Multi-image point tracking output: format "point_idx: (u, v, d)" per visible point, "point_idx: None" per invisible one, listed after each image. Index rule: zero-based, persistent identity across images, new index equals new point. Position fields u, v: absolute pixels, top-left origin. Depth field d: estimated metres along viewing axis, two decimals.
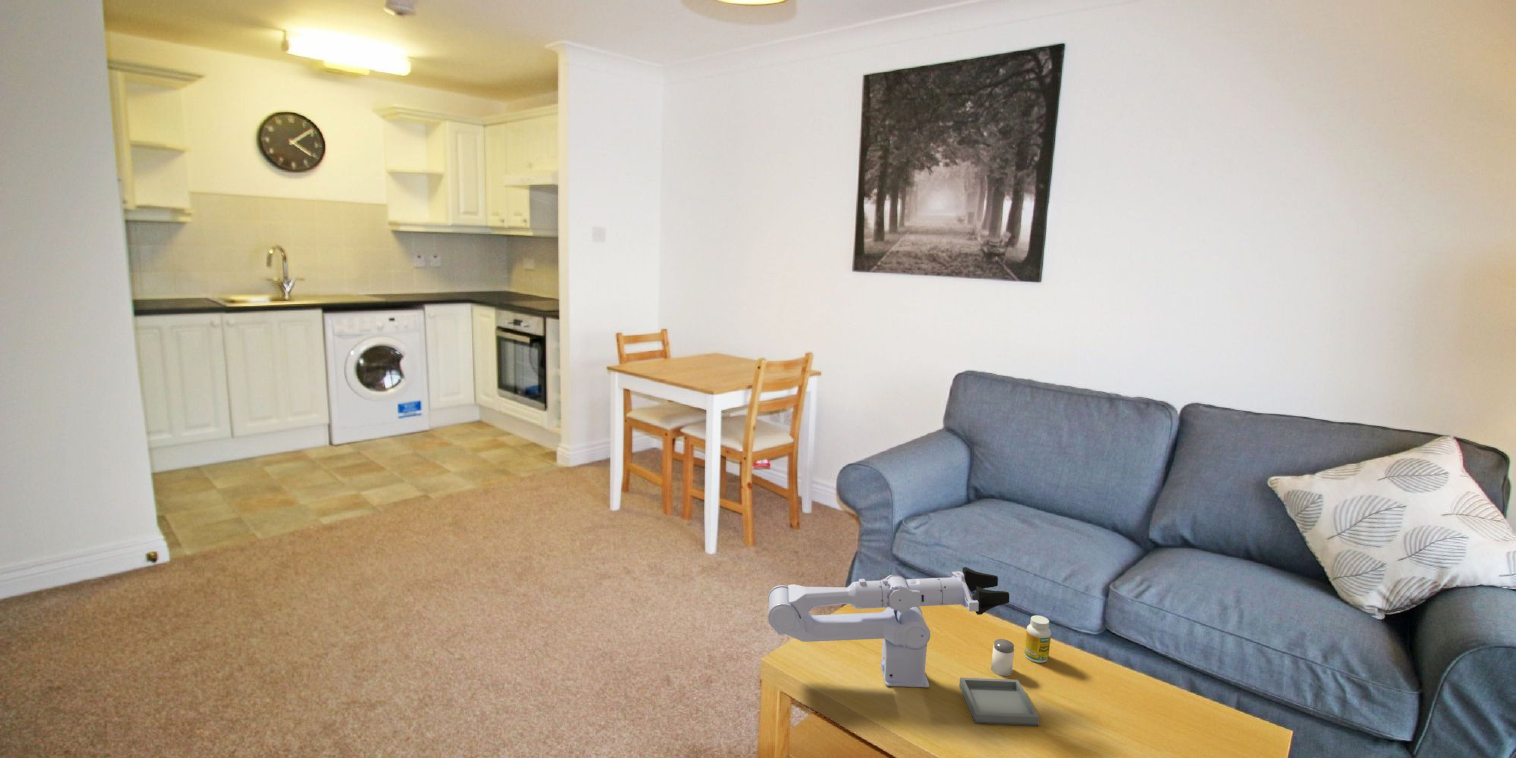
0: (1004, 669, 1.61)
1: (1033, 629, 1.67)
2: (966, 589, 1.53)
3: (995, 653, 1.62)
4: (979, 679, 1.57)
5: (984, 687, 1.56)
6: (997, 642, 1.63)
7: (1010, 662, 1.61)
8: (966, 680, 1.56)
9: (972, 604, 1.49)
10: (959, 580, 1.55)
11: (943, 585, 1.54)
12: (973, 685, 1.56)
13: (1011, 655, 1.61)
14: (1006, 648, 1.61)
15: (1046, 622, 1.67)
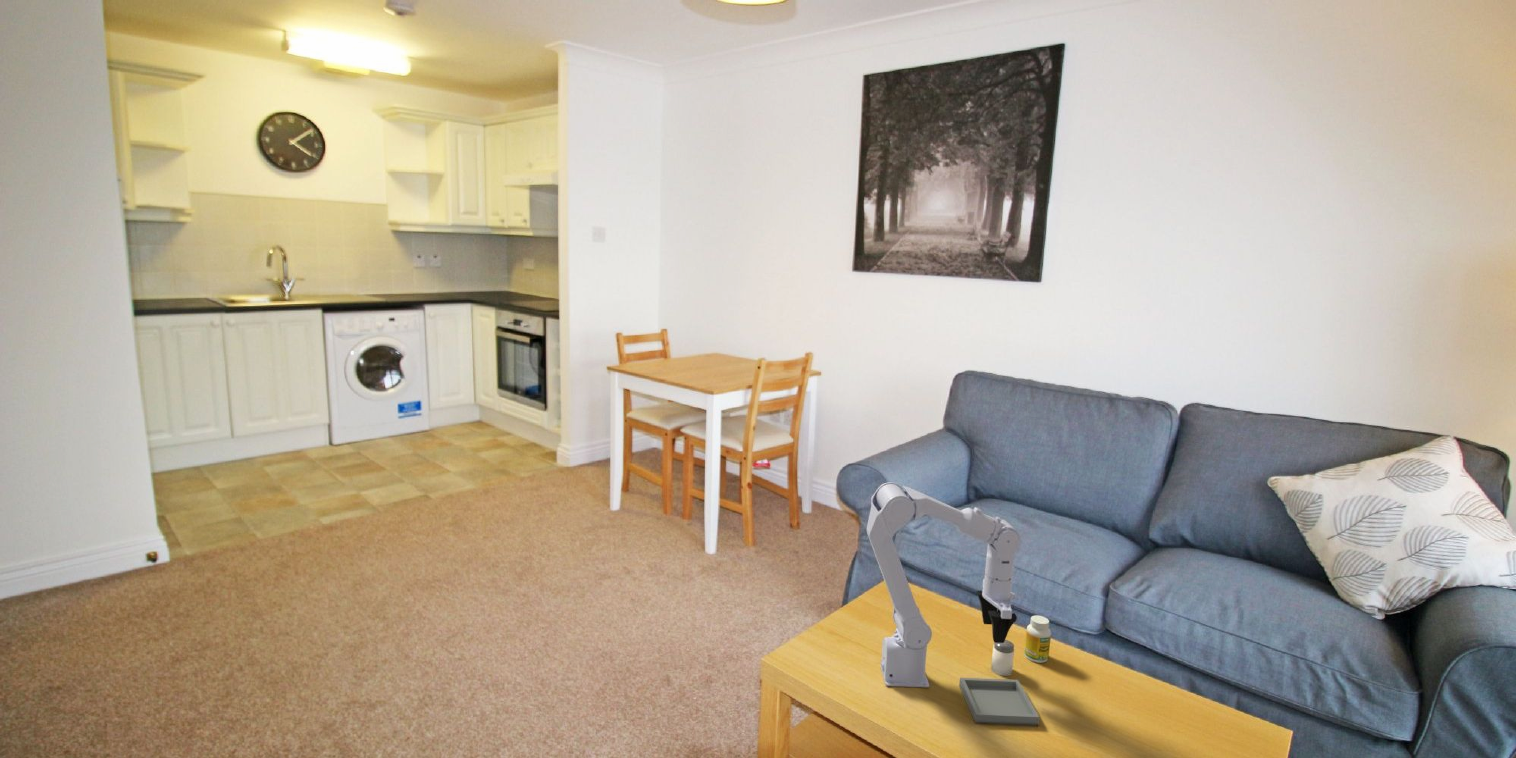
0: (1004, 669, 1.61)
1: (1033, 629, 1.67)
2: None
3: (995, 653, 1.62)
4: (979, 679, 1.57)
5: (984, 687, 1.56)
6: None
7: (1010, 662, 1.61)
8: (966, 680, 1.56)
9: (1010, 613, 1.51)
10: (1010, 594, 1.57)
11: (1011, 580, 1.55)
12: (973, 685, 1.56)
13: (1011, 655, 1.61)
14: (1006, 648, 1.61)
15: (1046, 622, 1.67)
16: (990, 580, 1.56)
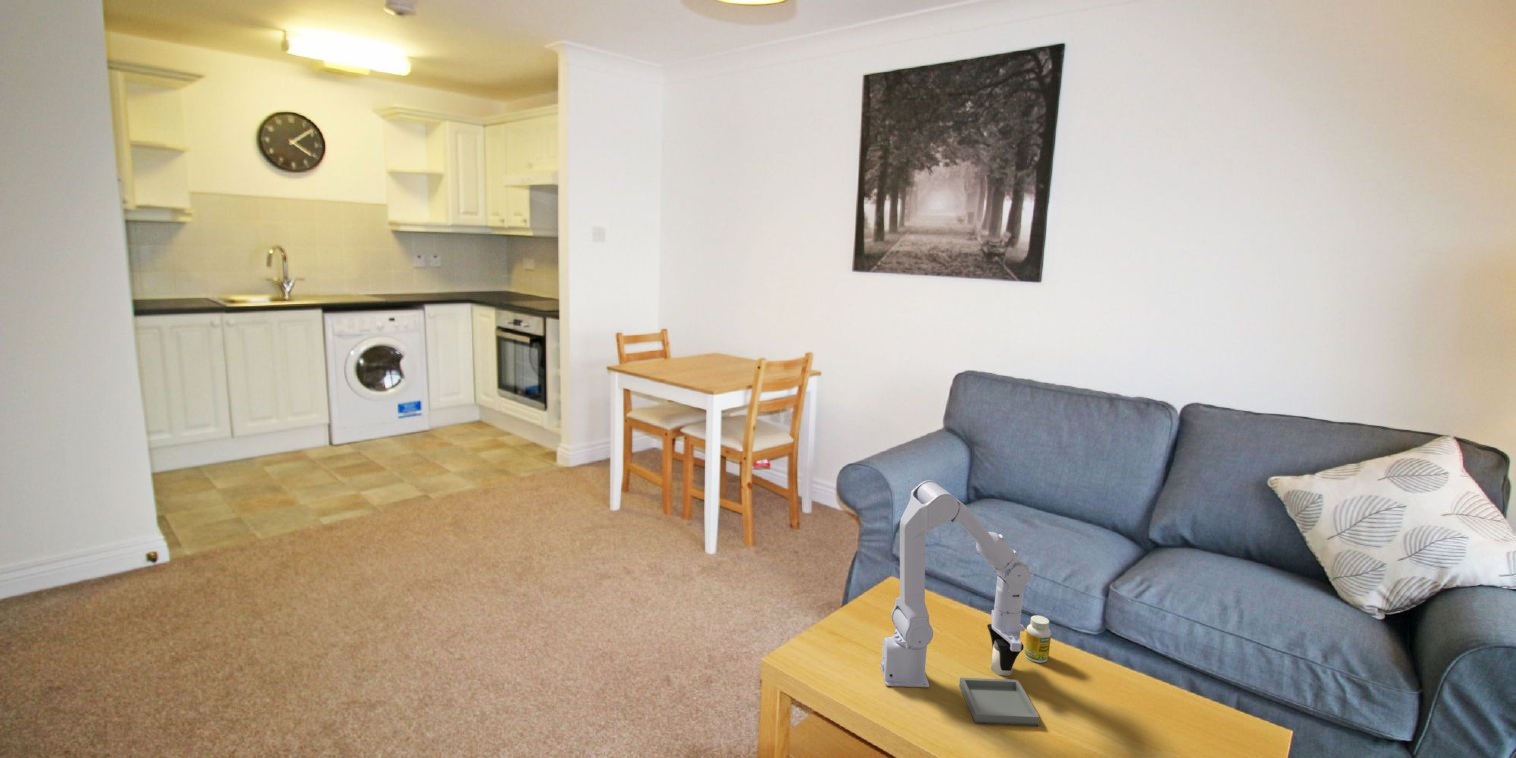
0: None
1: (1033, 629, 1.67)
2: (1019, 636, 1.59)
3: (995, 653, 1.62)
4: (979, 679, 1.57)
5: (984, 687, 1.56)
6: None
7: None
8: (966, 680, 1.56)
9: (1019, 646, 1.55)
10: None
11: (1020, 613, 1.59)
12: (973, 685, 1.56)
13: None
14: None
15: (1046, 622, 1.67)
16: (1000, 613, 1.60)
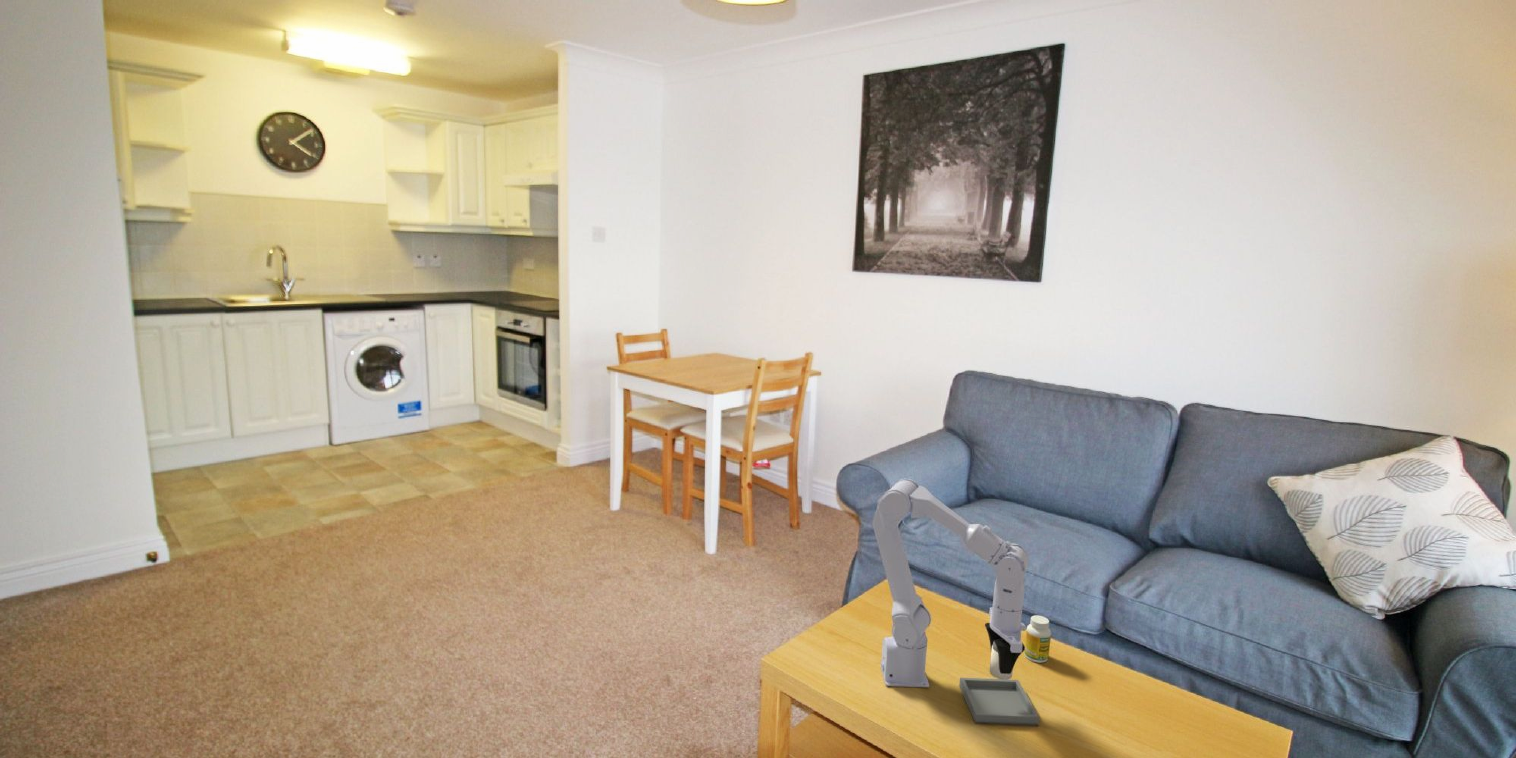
0: None
1: (1033, 629, 1.67)
2: (1020, 635, 1.45)
3: (994, 655, 1.49)
4: (979, 679, 1.57)
5: (984, 687, 1.56)
6: None
7: None
8: (966, 680, 1.56)
9: (1020, 647, 1.41)
10: (1020, 625, 1.47)
11: (1021, 611, 1.46)
12: (973, 685, 1.56)
13: None
14: None
15: (1046, 622, 1.67)
16: (999, 610, 1.46)
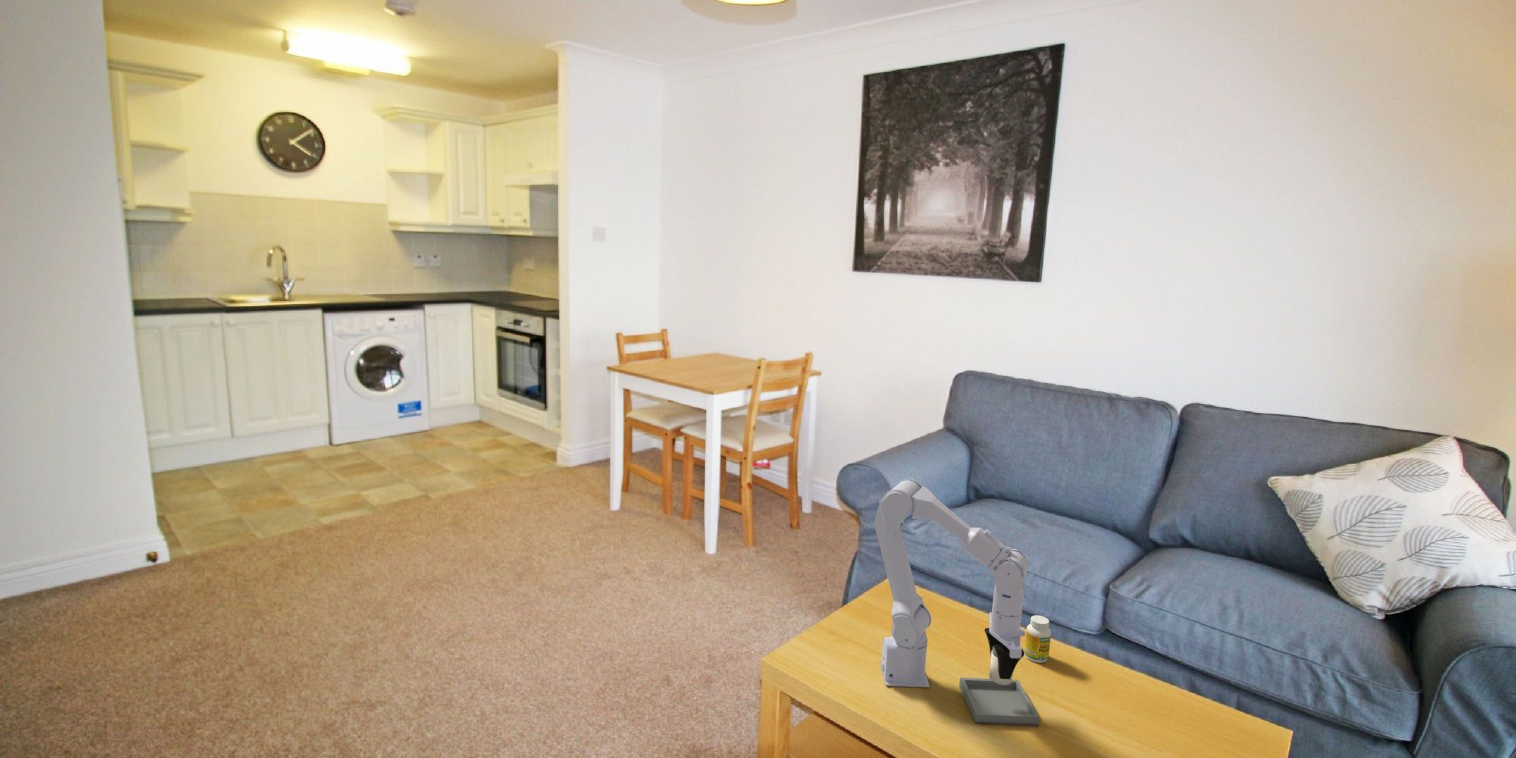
0: None
1: (1033, 629, 1.67)
2: None
3: (993, 660, 1.48)
4: (979, 679, 1.57)
5: (984, 687, 1.56)
6: None
7: None
8: (966, 680, 1.56)
9: (1019, 652, 1.41)
10: (1019, 630, 1.47)
11: (1020, 616, 1.46)
12: (973, 685, 1.56)
13: None
14: None
15: (1046, 622, 1.67)
16: (998, 616, 1.46)
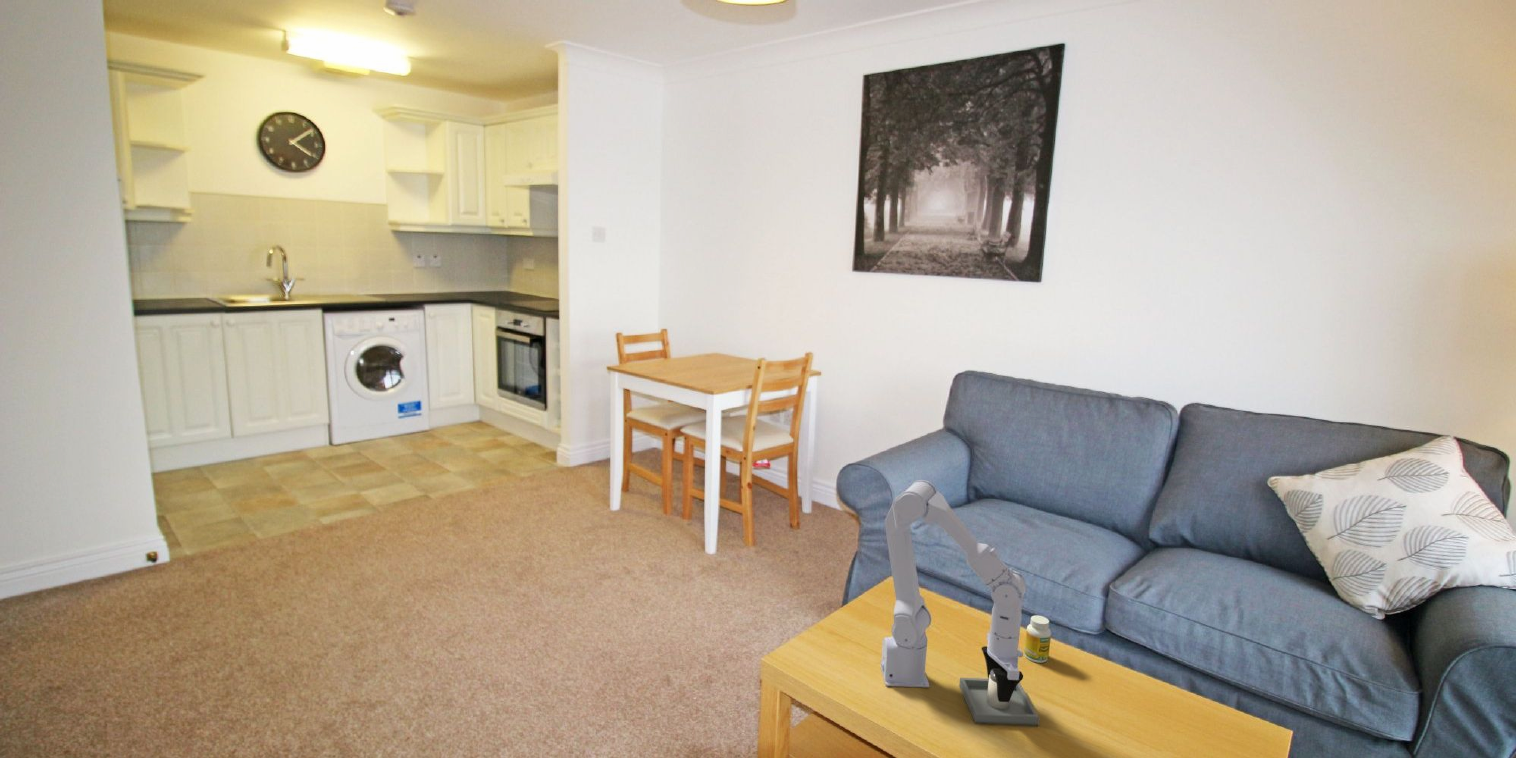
0: (1001, 702, 1.49)
1: (1033, 629, 1.67)
2: (1017, 662, 1.46)
3: (991, 684, 1.50)
4: (979, 679, 1.57)
5: (984, 687, 1.56)
6: (993, 672, 1.51)
7: None
8: (966, 680, 1.56)
9: (1017, 674, 1.42)
10: None
11: (1018, 637, 1.46)
12: (973, 685, 1.56)
13: None
14: None
15: (1046, 622, 1.67)
16: (996, 637, 1.47)
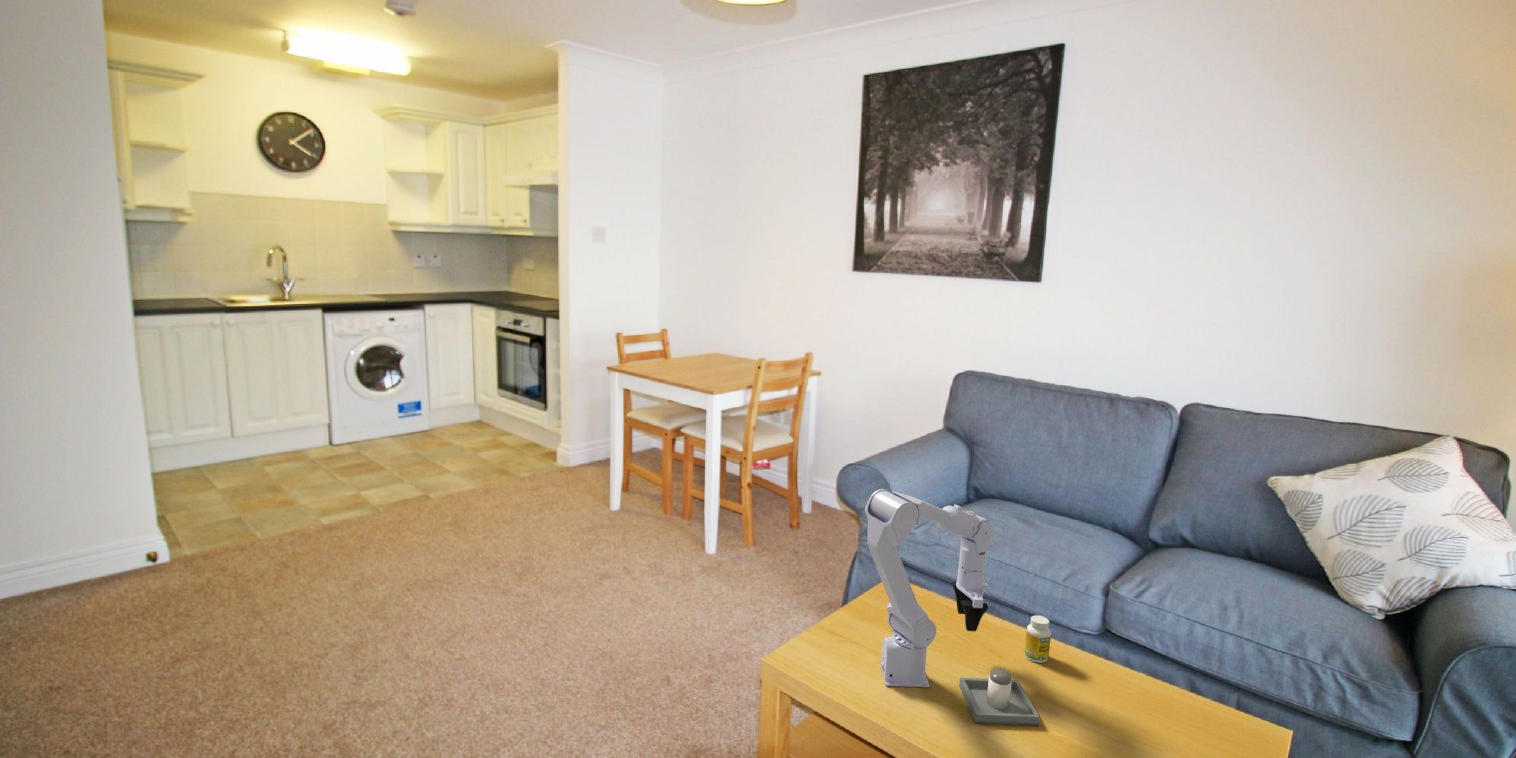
0: (1001, 703, 1.49)
1: (1033, 629, 1.67)
2: None
3: (991, 685, 1.49)
4: (979, 679, 1.57)
5: (984, 687, 1.56)
6: (993, 672, 1.50)
7: (1007, 694, 1.49)
8: (966, 680, 1.56)
9: (981, 602, 1.57)
10: (983, 585, 1.64)
11: (983, 571, 1.62)
12: (973, 685, 1.56)
13: (1008, 687, 1.48)
14: (1003, 679, 1.48)
15: (1046, 622, 1.67)
16: (963, 571, 1.62)
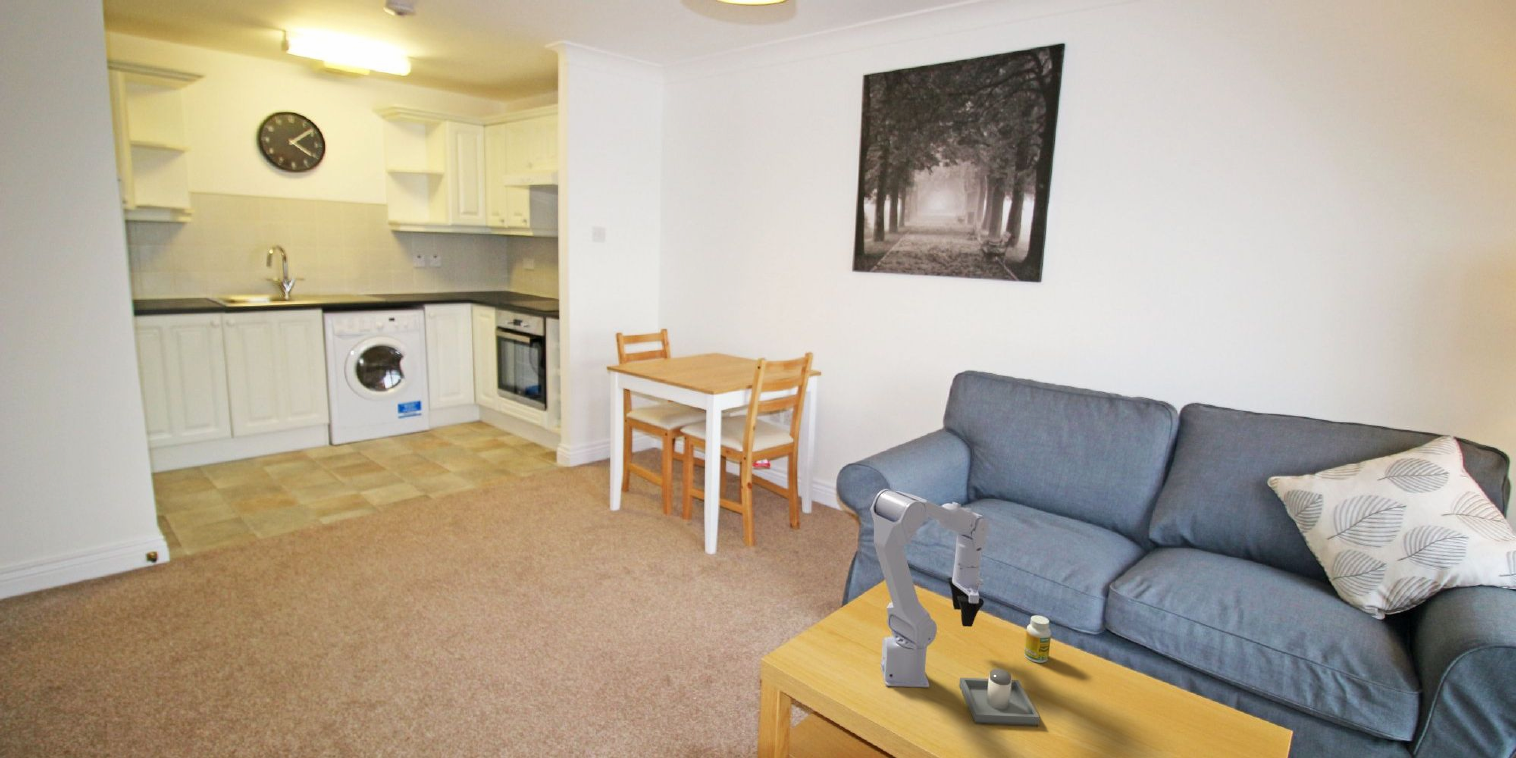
0: (1001, 703, 1.49)
1: (1033, 629, 1.67)
2: (978, 589, 1.63)
3: (991, 685, 1.49)
4: (979, 679, 1.57)
5: (984, 687, 1.56)
6: (992, 673, 1.50)
7: (1007, 694, 1.49)
8: (966, 680, 1.56)
9: (977, 598, 1.59)
10: (978, 580, 1.66)
11: (979, 567, 1.64)
12: (973, 685, 1.56)
13: (1008, 687, 1.48)
14: (1003, 679, 1.48)
15: (1046, 622, 1.67)
16: (959, 567, 1.64)
